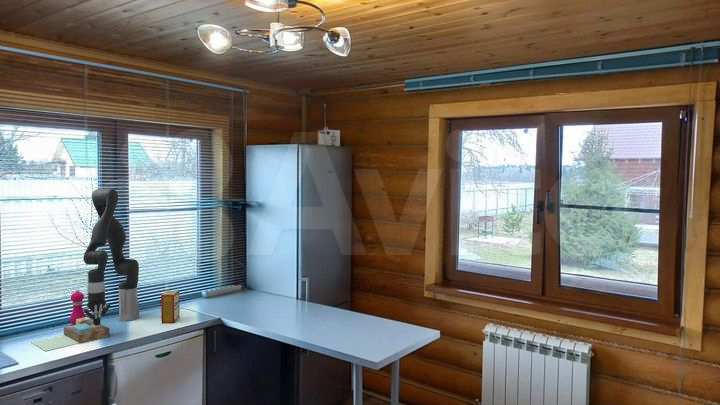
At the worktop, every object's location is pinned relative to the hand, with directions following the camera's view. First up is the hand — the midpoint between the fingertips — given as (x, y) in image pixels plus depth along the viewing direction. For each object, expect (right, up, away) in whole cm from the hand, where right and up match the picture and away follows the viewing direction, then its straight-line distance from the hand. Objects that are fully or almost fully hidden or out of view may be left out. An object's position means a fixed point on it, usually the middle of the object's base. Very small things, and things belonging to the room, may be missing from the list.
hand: (96, 325), depth 242 cm
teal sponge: (-4, -1, -5) cm, 7 cm away
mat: (-14, -6, -11) cm, 19 cm away
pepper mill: (-17, -4, +13) cm, 22 cm away
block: (-9, -1, +4) cm, 10 cm away
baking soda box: (+27, -4, +26) cm, 37 cm away
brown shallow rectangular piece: (-5, -5, -1) cm, 7 cm away
